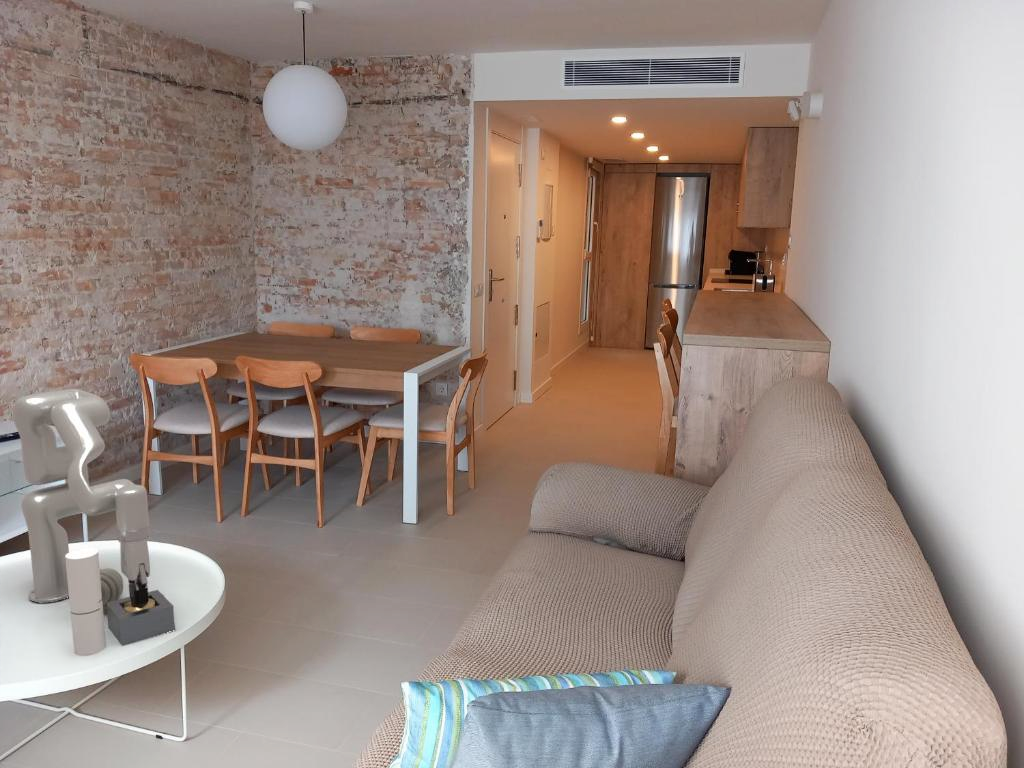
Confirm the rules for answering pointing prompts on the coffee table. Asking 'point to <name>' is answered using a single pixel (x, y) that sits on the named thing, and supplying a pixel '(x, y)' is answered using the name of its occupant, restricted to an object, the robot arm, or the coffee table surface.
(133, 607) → the stepped cylindrical shaft
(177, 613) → the coffee table surface
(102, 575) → the toy sheep
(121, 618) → the block
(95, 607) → the cylindrical container
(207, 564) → the coffee table surface
